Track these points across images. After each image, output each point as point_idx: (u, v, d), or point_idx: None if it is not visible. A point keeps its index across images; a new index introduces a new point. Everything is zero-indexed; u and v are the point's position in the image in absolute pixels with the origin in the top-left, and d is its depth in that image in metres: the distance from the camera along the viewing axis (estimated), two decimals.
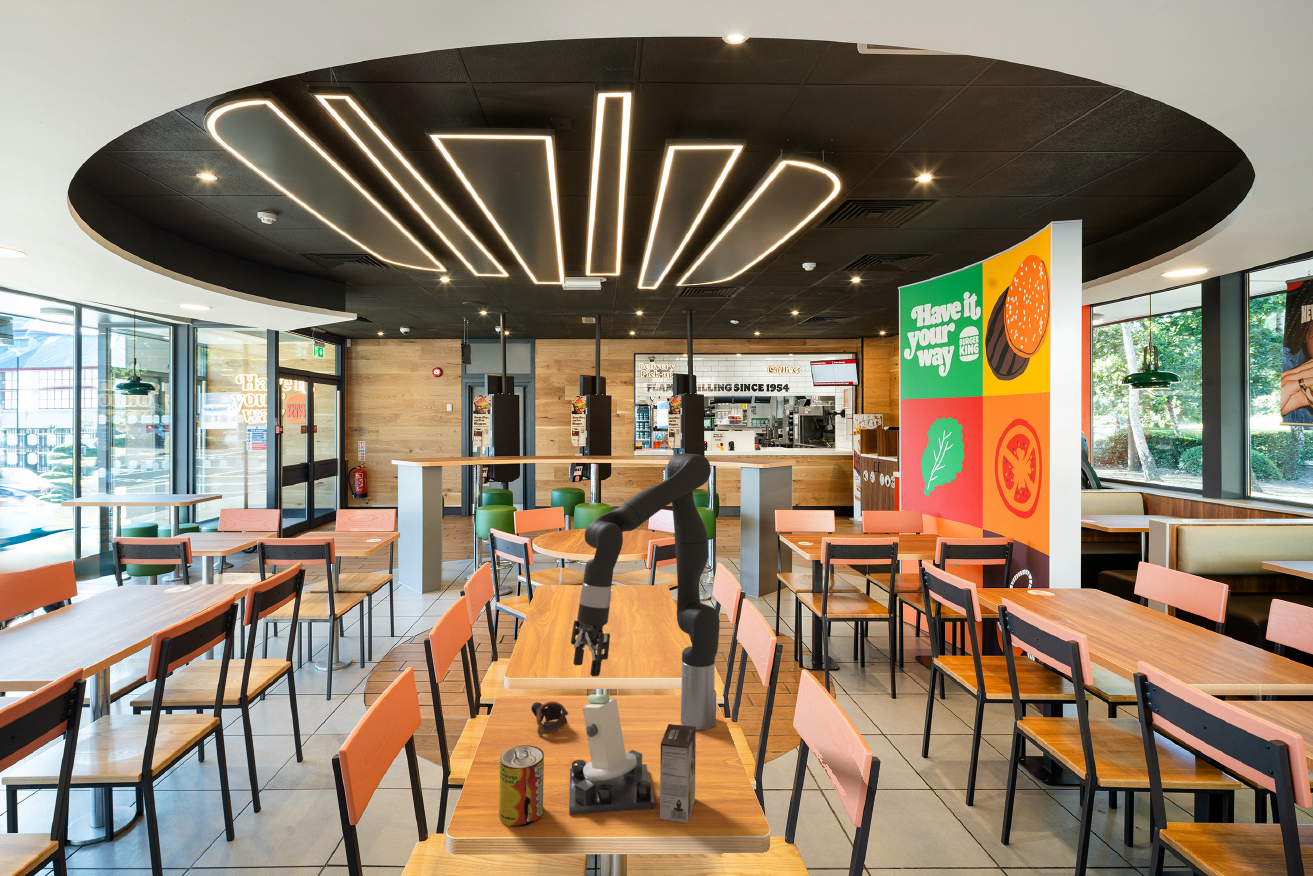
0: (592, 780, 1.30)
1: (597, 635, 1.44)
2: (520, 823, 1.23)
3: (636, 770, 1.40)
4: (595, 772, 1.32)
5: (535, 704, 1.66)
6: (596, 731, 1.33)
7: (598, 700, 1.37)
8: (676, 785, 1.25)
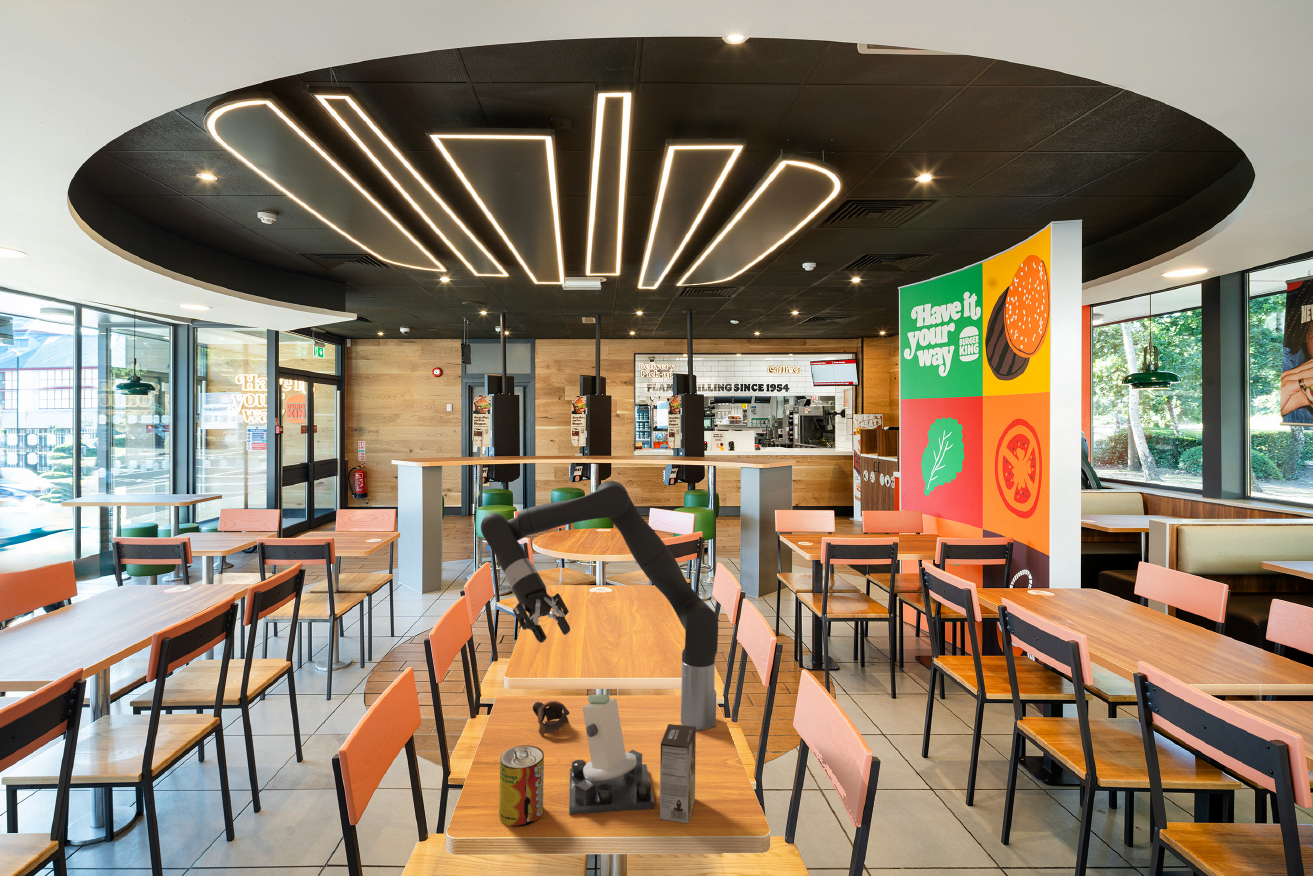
0: (592, 780, 1.30)
1: None
2: (520, 823, 1.23)
3: (636, 770, 1.40)
4: (595, 772, 1.32)
5: (536, 704, 1.66)
6: (596, 731, 1.33)
7: (598, 700, 1.37)
8: (676, 785, 1.25)
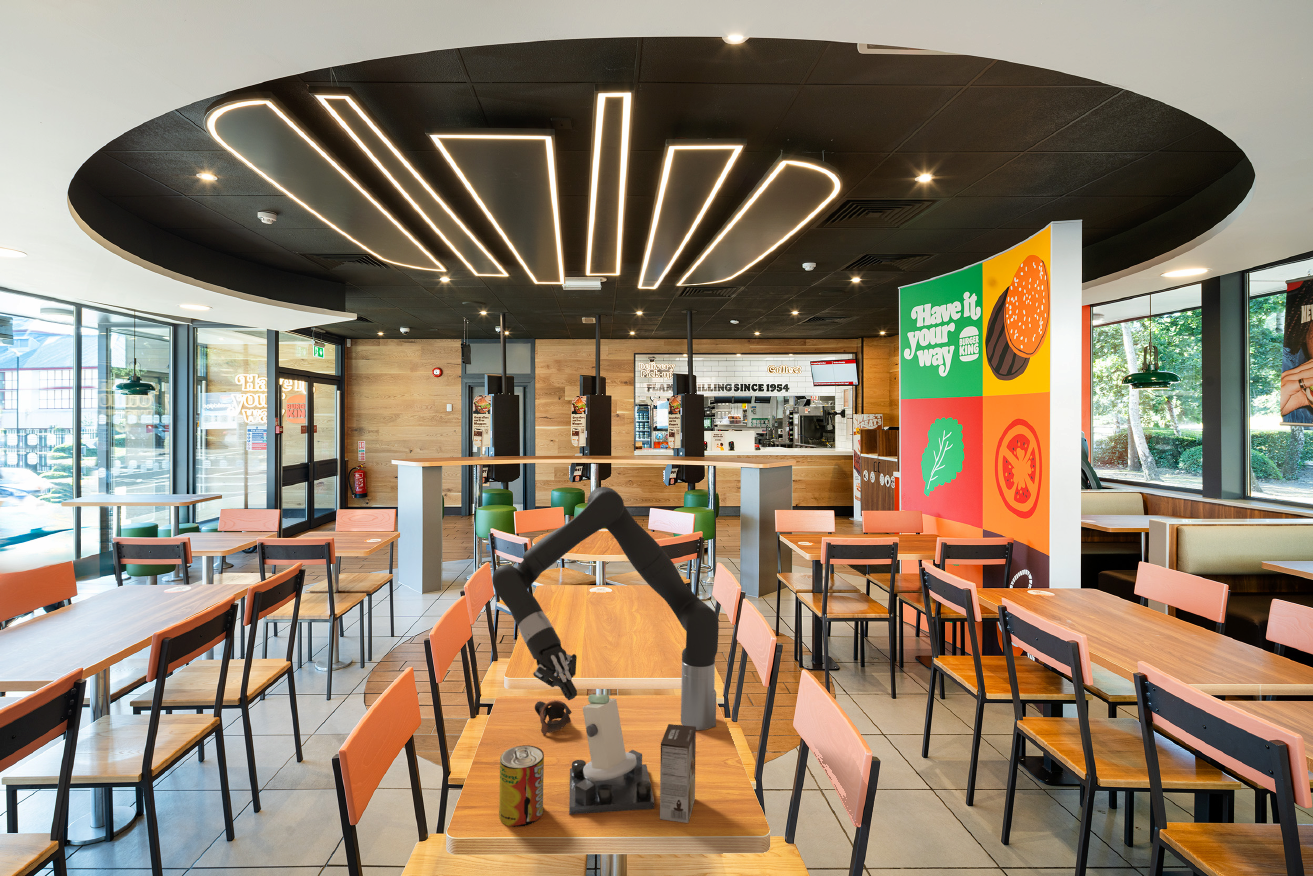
0: (592, 780, 1.30)
1: None
2: (520, 823, 1.23)
3: (636, 770, 1.40)
4: (595, 772, 1.32)
5: (538, 703, 1.66)
6: (596, 731, 1.33)
7: (598, 700, 1.37)
8: (676, 785, 1.25)
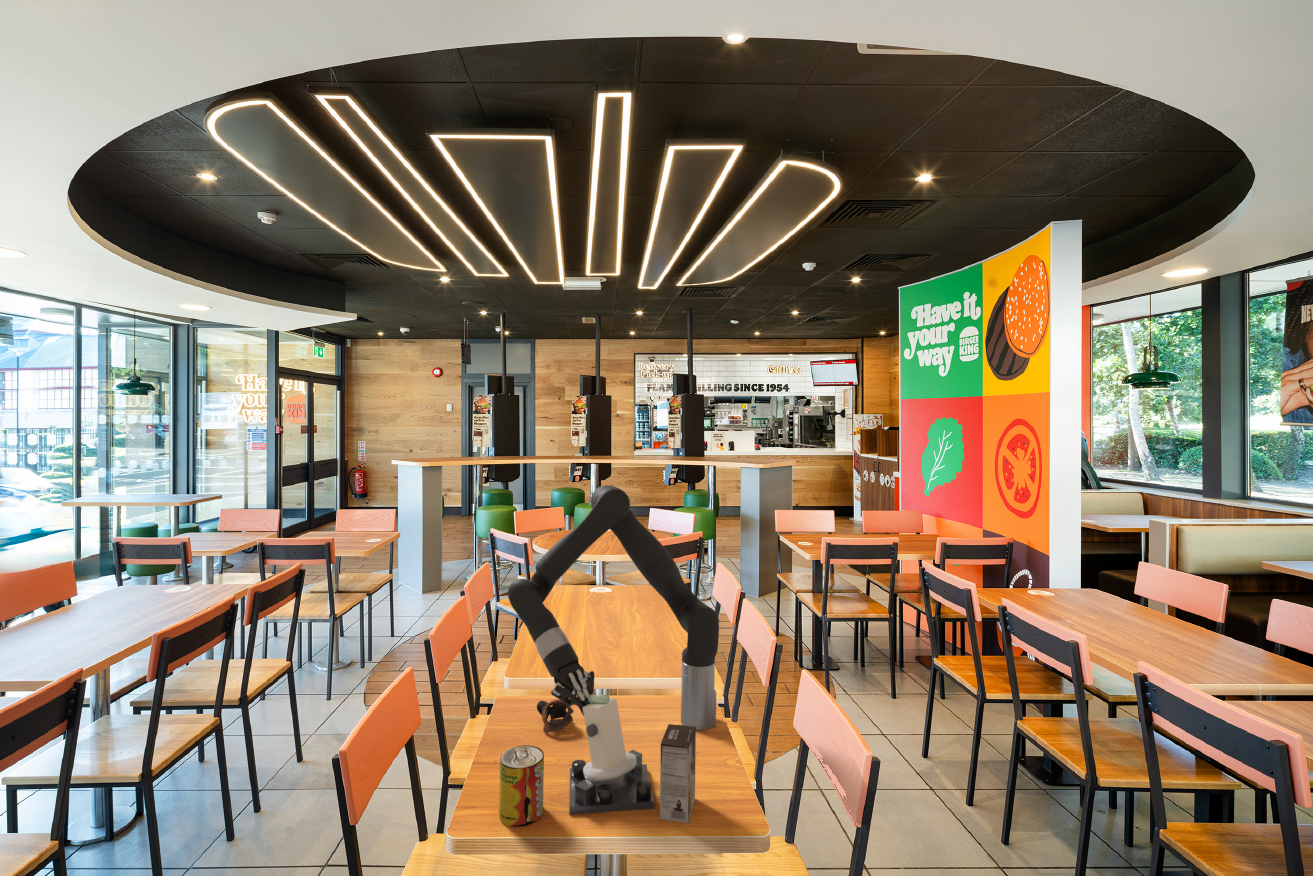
0: (592, 780, 1.30)
1: None
2: (520, 823, 1.23)
3: (636, 770, 1.40)
4: (595, 772, 1.32)
5: (540, 702, 1.67)
6: (596, 731, 1.33)
7: (598, 700, 1.37)
8: (676, 785, 1.25)
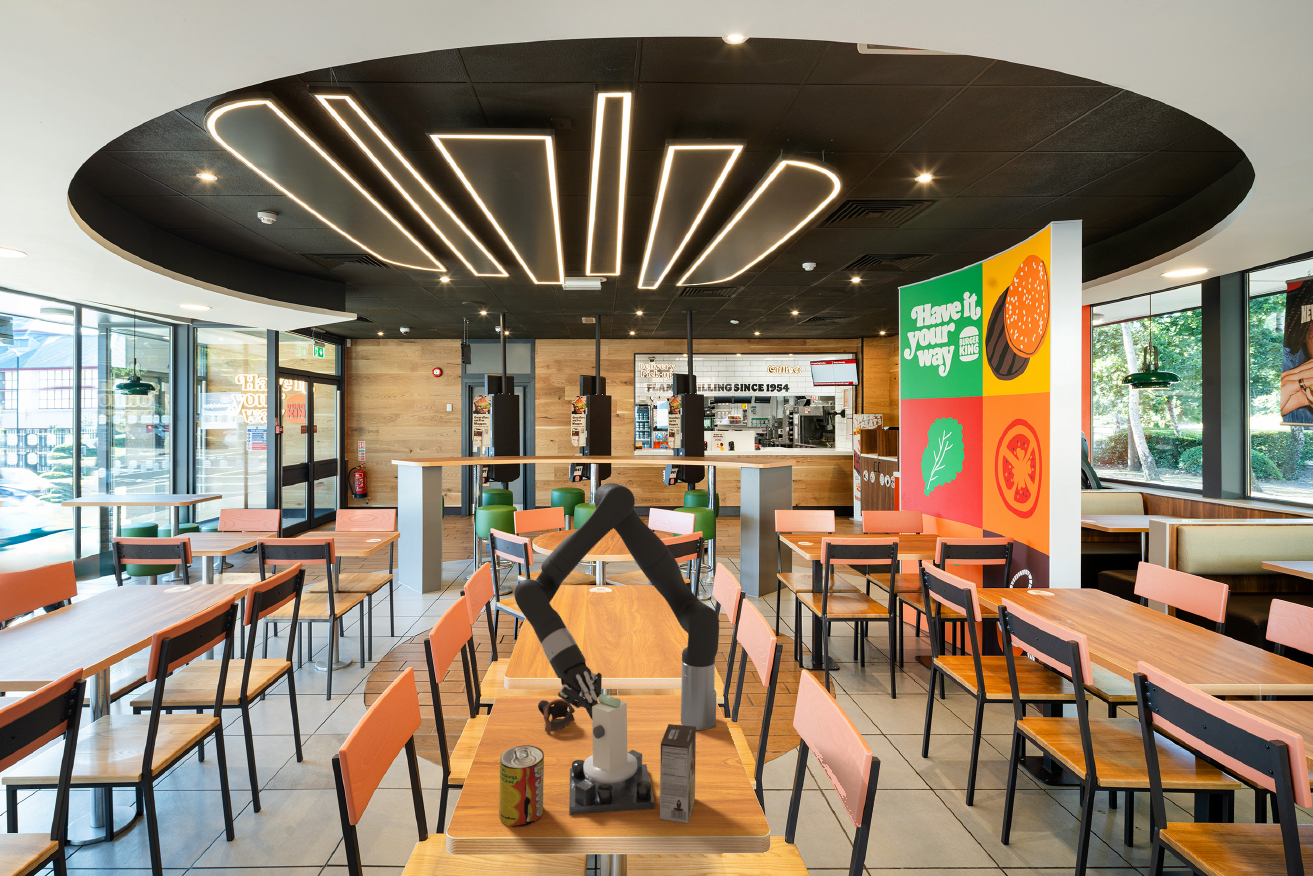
0: (592, 780, 1.30)
1: None
2: (520, 823, 1.23)
3: None
4: (596, 772, 1.31)
5: (542, 702, 1.67)
6: (603, 734, 1.32)
7: (609, 703, 1.35)
8: (676, 785, 1.25)
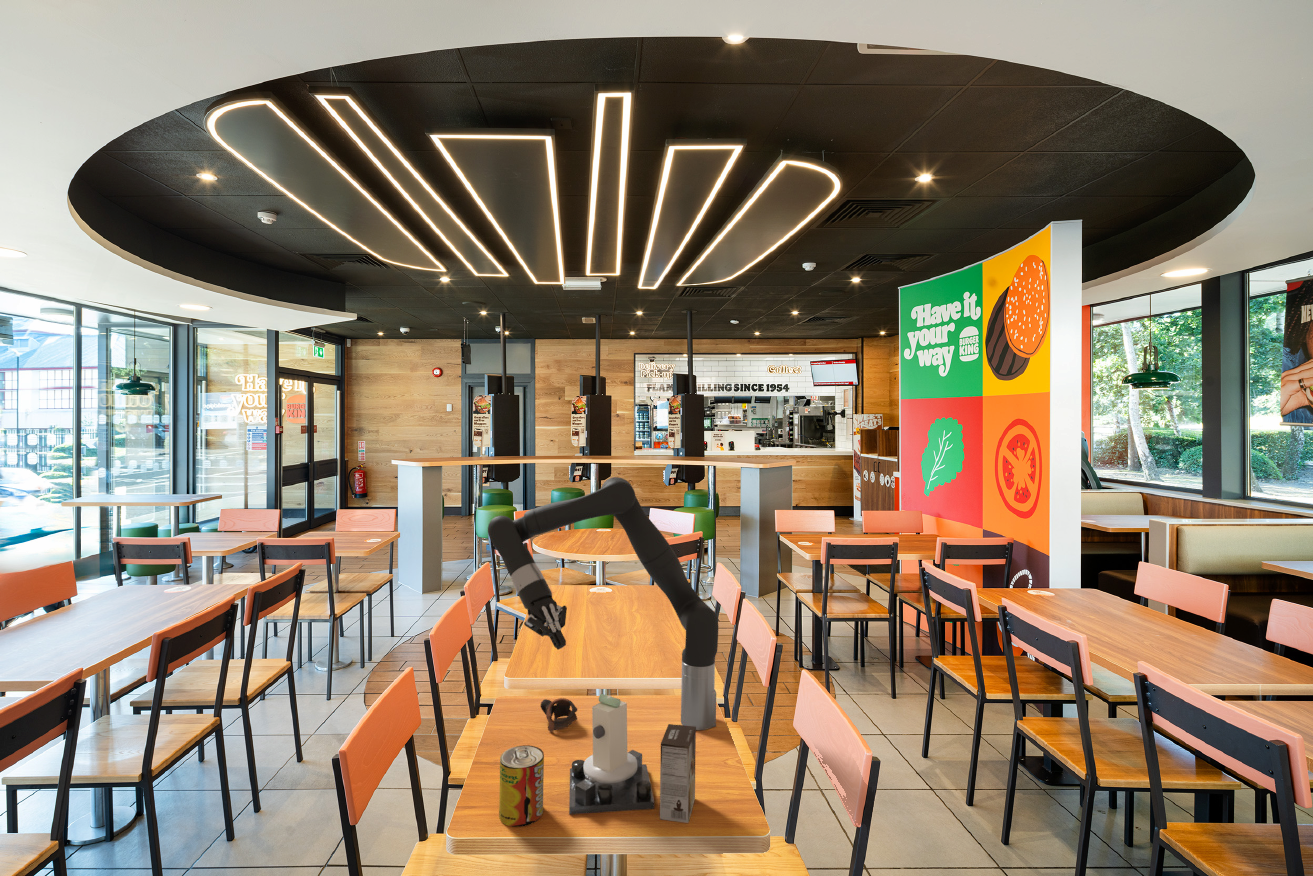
0: (592, 780, 1.30)
1: None
2: (520, 823, 1.23)
3: None
4: (596, 772, 1.31)
5: (544, 701, 1.68)
6: (603, 734, 1.32)
7: (609, 703, 1.35)
8: (676, 785, 1.25)
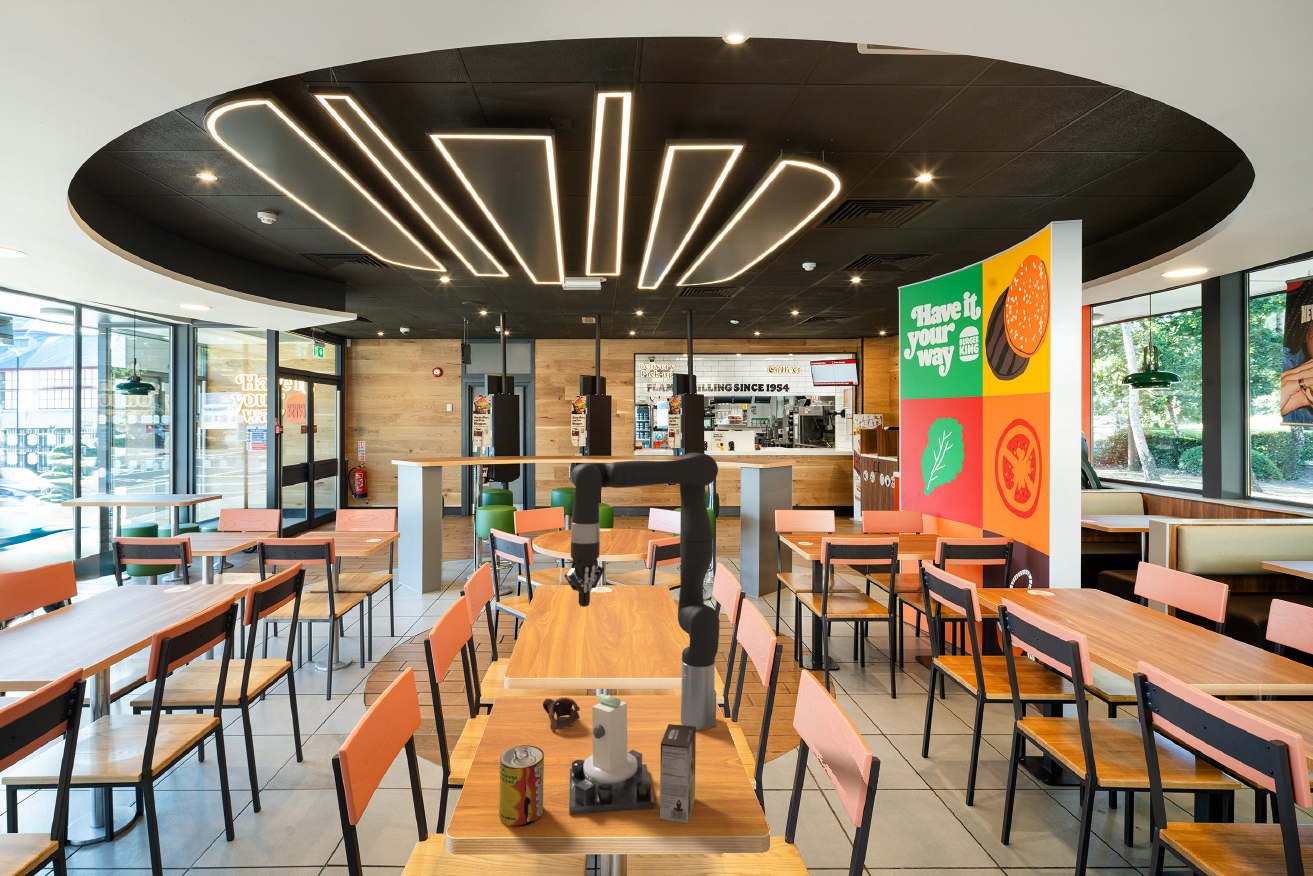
0: (592, 780, 1.30)
1: None
2: (520, 823, 1.23)
3: None
4: (596, 772, 1.31)
5: (547, 700, 1.68)
6: (603, 734, 1.32)
7: (609, 703, 1.35)
8: (676, 785, 1.25)
